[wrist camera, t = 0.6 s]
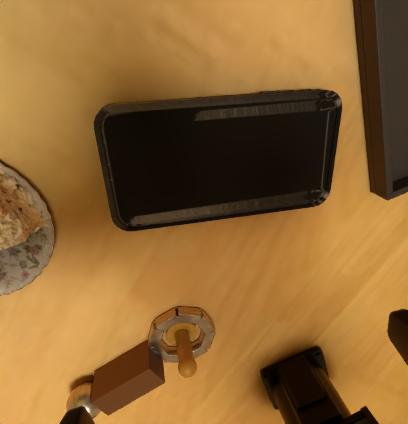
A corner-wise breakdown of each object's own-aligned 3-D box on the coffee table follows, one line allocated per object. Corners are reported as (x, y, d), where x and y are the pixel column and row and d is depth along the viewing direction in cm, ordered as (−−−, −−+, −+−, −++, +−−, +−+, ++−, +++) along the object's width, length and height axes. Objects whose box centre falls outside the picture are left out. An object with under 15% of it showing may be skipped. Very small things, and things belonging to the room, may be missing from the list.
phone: (328, 204, 22) (114, 233, 20) (320, 198, 23) (115, 225, 21) (345, 87, 19) (89, 105, 16) (334, 86, 20) (91, 102, 17)
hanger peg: (200, 335, 27) (211, 378, 23) (172, 347, 27) (178, 392, 23) (190, 315, 26) (199, 357, 22) (161, 327, 26) (165, 372, 22)
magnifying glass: (192, 296, 25) (198, 321, 22) (222, 333, 27) (230, 360, 25) (52, 379, 26) (43, 413, 23) (93, 408, 28) (89, 441, 26)
